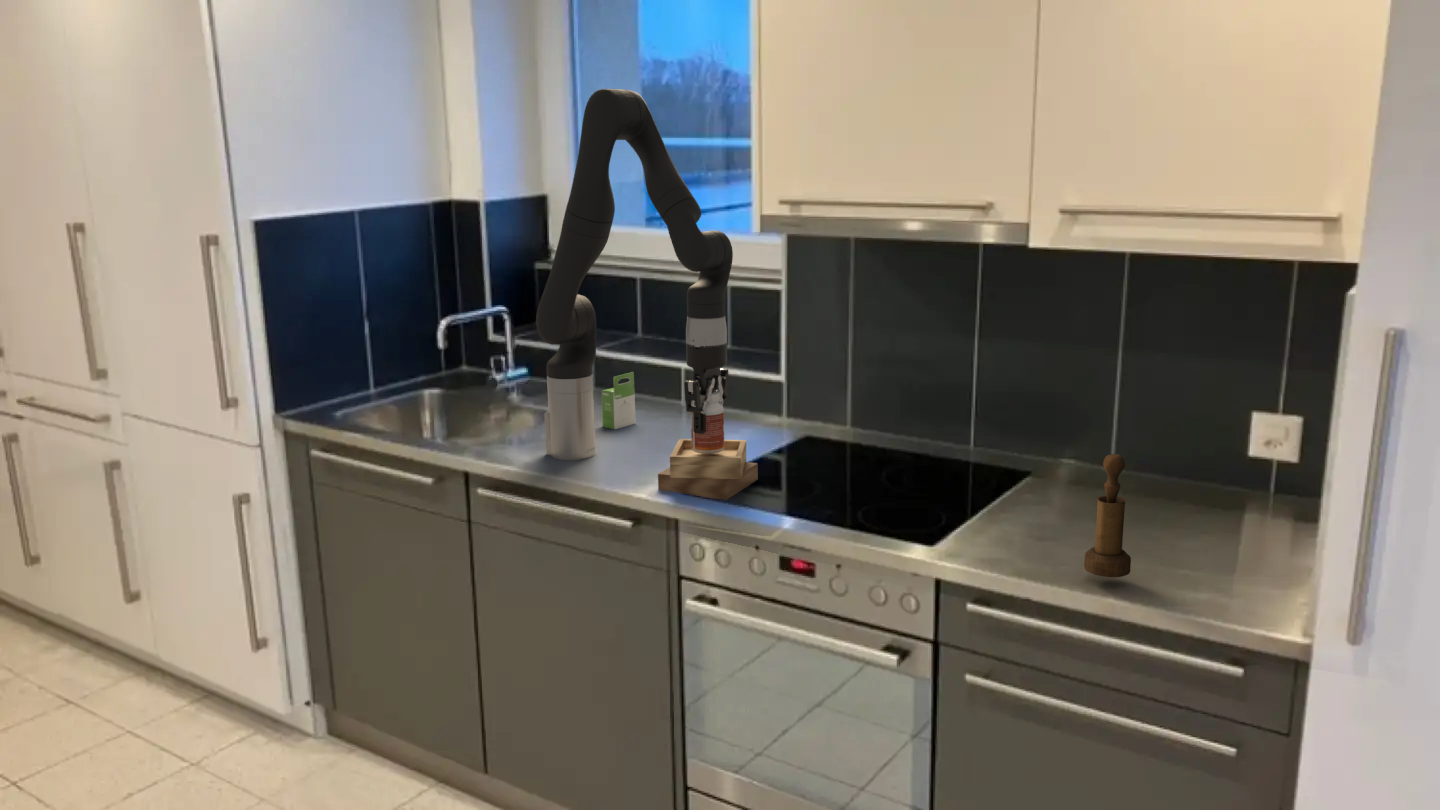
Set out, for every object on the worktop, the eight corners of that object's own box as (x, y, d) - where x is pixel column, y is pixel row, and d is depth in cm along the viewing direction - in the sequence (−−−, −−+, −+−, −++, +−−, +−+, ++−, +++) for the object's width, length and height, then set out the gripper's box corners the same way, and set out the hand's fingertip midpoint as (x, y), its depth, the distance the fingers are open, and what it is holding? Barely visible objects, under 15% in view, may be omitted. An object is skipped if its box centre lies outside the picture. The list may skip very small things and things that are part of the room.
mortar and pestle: (1082, 574, 179) (1089, 458, 175) (1085, 560, 184) (1092, 447, 180) (1129, 579, 176) (1137, 462, 172) (1131, 565, 182) (1139, 451, 178)
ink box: (623, 427, 272) (621, 369, 269) (636, 430, 269) (634, 371, 266) (602, 433, 267) (600, 374, 264) (615, 436, 264) (613, 376, 261)
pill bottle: (730, 451, 224) (730, 393, 221) (703, 456, 220) (702, 397, 218) (712, 444, 229) (712, 387, 226) (685, 449, 225) (684, 391, 223)
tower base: (658, 494, 223) (658, 473, 222) (692, 475, 235) (692, 455, 234) (725, 503, 217) (725, 482, 216) (757, 483, 229) (757, 463, 228)
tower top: (670, 477, 219) (669, 456, 218) (679, 458, 232) (679, 438, 231) (740, 479, 218) (740, 458, 217) (746, 460, 231) (746, 440, 230)
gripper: (705, 333, 228) (706, 419, 231) (670, 345, 215) (671, 435, 219) (741, 335, 225) (741, 422, 228) (707, 348, 212) (708, 439, 216)
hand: (707, 428), depth 224 cm, fingers closed on pill bottle, 6 cm apart
